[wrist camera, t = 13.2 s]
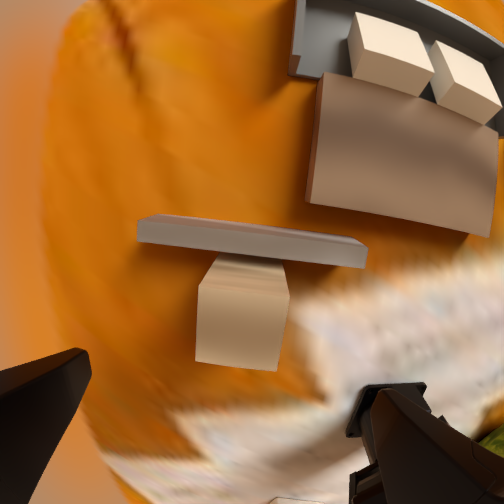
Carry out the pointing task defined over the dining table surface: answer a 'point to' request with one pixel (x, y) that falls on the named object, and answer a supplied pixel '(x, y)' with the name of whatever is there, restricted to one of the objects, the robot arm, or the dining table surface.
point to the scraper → (246, 281)
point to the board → (400, 157)
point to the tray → (398, 12)
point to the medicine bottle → (292, 501)
